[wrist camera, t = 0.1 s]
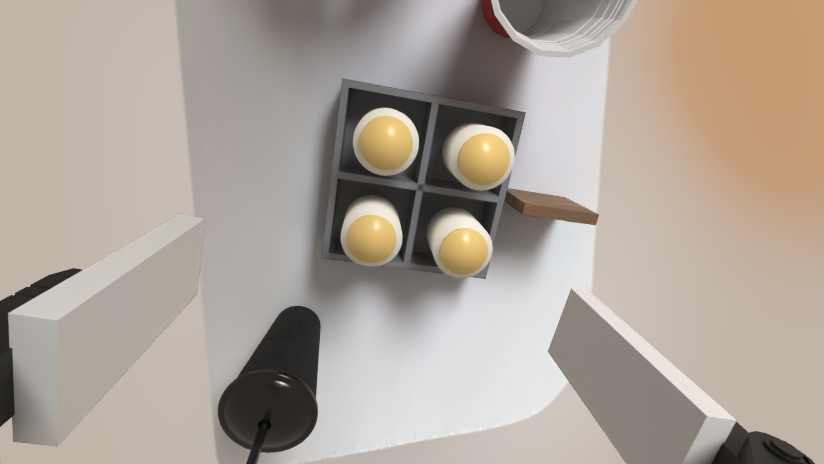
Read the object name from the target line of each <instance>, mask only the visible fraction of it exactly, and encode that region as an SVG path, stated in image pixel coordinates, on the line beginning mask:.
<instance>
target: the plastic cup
mask: <svg viewBox="0 0 824 464" xmlns="http://www.w3.org/2000/svg"><path fill="white" fill-rule="evenodd" d="M637 1H638V0H483V4H482V7H483V11H484V15H485V19H486V21H487V22H488V24H489V25H490V27H491V28H492V29H493V31H494V32H496V33H498V34H500V35H502V36H503V37H505V38H511V39H512V40H513V41H514V42H516V43H518V44H520V45H521V46H523V47H525V48H527V49H528V50H530V51H532V52H534V53H535V54H537V55H539V56H553V57H571V56H574V55H577V54H579V53H582V52H585V51H588V50H590V49H593V48H596V47H598V46H599V45H601V44H602V43H603V42H604V41H605V40H606V39H607V38H609V37H610V36H611V35H612V34H613V33H614V32H615V31H617V30H618V29H619V28H620V27H621V26H622V25H623V24H624V23H625V22H626V20H627V18H628V16H629V15H630V13H631V11H632V10H633V8H634V6H635V5H636V3H637Z"/></svg>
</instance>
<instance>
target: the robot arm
mask: <svg viewBox="0 0 824 464" xmlns="http://www.w3.org/2000/svg"><path fill="white" fill-rule="evenodd" d="M204 222H205V219H204V218H199V217H194V216H188V215H183V214H179V215H177V216H176V217H174V218H172V219H170V220H169V221H167V222H165V223H164V224H162V225H160V226H158V227H157V228H155V229H153V230H151V231H150V232H148V233H147V234H145V235H143V236H141V237H139V238H138V239H136V240H134V241H132V242H131V243H129V244H127V245H125V246H124V247H122V248H120V249H119V250H117V251H115V252H113V253H112V254H110V255H108V256H106V257H105V258H103V259H101V260H99V261H98V262H96V263H94V264H93V265H91V266H89V267H87V268H86V269H84V270H81V269H75V268H73V269H69V270H66V271H62V272H58V273H55V274H51V275H48V276H47V277H44V278H43V279H41V280H39V281H37V282H35V283H33V284H31V286H30V287H26V288H24V289H22V290H20V291H18V292H16V293H15V295H14V296H13V295H11V296H9V297H7V298H5V299H3V300H1V301H0V427H1V426H2V425H3V424H4V423H5V422H6V421H8V420H9V419H10V418H11V417H12V423H13V442H21V443H31V444H40V445H50V446H58V445H59V444H60V443H61V442H62V441H63V440H64V439H65V438H66V437H67V436H68V435H69V433H70V432H71V431H72V430H73V429H74V428H75V427H76V426H77V425H78V423H80V421H81V420H82V419H83V418H84V417H85V416H86V415H87V414H88V413H89V412H90V411H91V409H92V408H93V407H94V406H95V405H96V404H97V403H98V402H99V401H100V400H101V399H102V397H103V396H104V395H105V394H106V393H107V392H108V391H109V390H110V389H111V388H112V387H113V385H114V384H115V383H116V382H117V381H118V380H119V379H120V378H121V377H122V376H123V375H124V374H125V372H126V371H127V370H128V369H129V368H130V367H131V366H132V365H133V364H134V363H135V362H136V360H137V359H138V358H139V357H140V356H141V355H142V354H143V353H144V351H146V350H147V348H148V347H149V346H150V345H151V344H152V343H153V342H154V341H155V339H157V338H158V336H159V335H160V334H161V333H162V332H163V331H164V330H165V329H166V328H167V327H168V326H169V324H170V323H171V322H172V321H173V320H174V319H175V318H176V317H177V316H178V314H180V312H181V311H182V310H183V309H184V308H185V307H186V306H187V305H188V304H189V303H190V302H191V300H192V299H193V298H194V297H195V296H196V295H197V292H198V282H199V272H200V262H201V252H202V242H203V232H204ZM548 352H549V354H550V355H551V357H552V358H553V360H554V361H555V362H556V364H557V365H558V367H559V368H560V370H561V371H562V372H563V374H564V375H565V377H566V378H567V380H568V381H569V382H570V384H571V385H572V387H573V388H574V390H575V391H576V392H577V394H578V395H579V397H580V398H581V399H582V401H583V402H584V404H585V405H586V406H587V408H588V410H589V411H590V412H591V414H592V415H593V417H594V418H595V420H596V421H597V422H598V424H599V425H600V427H601V428H602V430H603V431H604V432H605V434H606V435H607V437H608V438H609V439H610V441H611V442H612V444H613V445H614V447H615V448H616V449H617V451H618V452H619V454H620V455H621V457H622V458H623V460H624V461H625V462H626V464H815V463H814V462H813V461H812V460H811V459H810V458H809V457H807V456H806V455H805V454H803V453H802V452H800V451H799V450H797V449H796V448H795V447H793V446H792V445H790V444H788V443H787V442H785V441H782V440H780V439H778V438H776V437H774V436H771V435H769V434H766V433H762V432H757V431H755V432H750V433H748V432H747V431H746V430H745V429H744V428H743V427H742V426H740V425H739V424H738V423H737V422H736V420H735V419H734V418H733V417H732V416H731V415H730V414H729V413H727V412H726V411H725V410H724V409H723V408H722V407H721V406H719V405H718V404H717V403H716V402H715V401H714V400H713V399H711V398H710V397H709V396H708V395H707V394H706V393H705V392H703V391H702V390H701V389H700V388H699V387H698V386H696V385H695V384H694V383H693V382H692V381H691V380H690V379H689V378H687V377H686V376H685V375H684V374H683V373H682V372H681V371H679V370H678V369H677V368H676V367H675V366H674V365H673V364H671V363H670V362H669V361H668V360H667V359H666V358H665V357H663V356H662V355H661V354H660V353H659V352H658V351H656V350H655V349H654V348H653V347H652V346H651V345H650V344H649V343H647V342H646V341H645V340H644V339H643V338H642V337H641V336H640V335H638V334H637V333H636V332H635V331H634V330H633V329H632V328H630V327H629V326H628V325H627V324H626V323H624V322H623V321H622V320H621V319H620V318H619V317H618V316H617V315H616V314H614V313H613V312H612V311H611V310H610V309H609V308H608V307H606V306H605V305H604V304H603V303H602V302H601V301H600V300H598V299H597V298H596V297H595V296H594V295H593V294H592V293H590V292H587V291H582V290H577V289H572V288H571V291H570V293H569V296H568V299H567V301H566V304H565V307H564V309H563V312H562V315H561V318H560V320H559V323H558V326H557V328H556V331H555V334H554V336H553V339H552V342H551V344H550V347H549V350H548Z"/></svg>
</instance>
